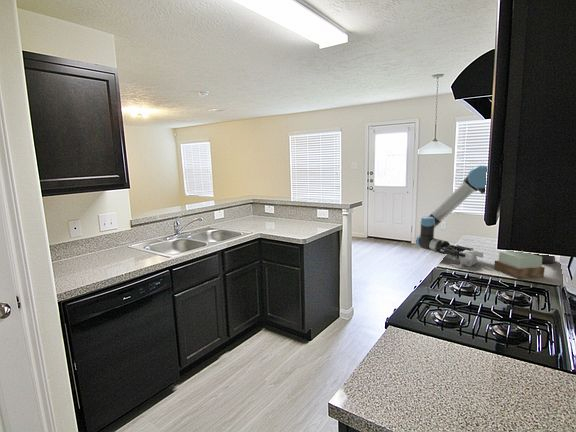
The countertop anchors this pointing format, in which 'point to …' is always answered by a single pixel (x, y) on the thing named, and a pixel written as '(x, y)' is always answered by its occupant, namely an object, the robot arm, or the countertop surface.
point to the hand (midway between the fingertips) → (477, 256)
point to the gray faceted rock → (467, 261)
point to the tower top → (520, 259)
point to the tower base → (519, 271)
